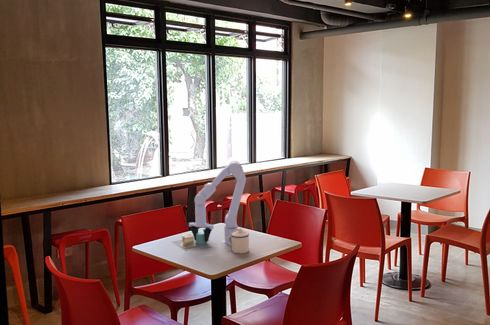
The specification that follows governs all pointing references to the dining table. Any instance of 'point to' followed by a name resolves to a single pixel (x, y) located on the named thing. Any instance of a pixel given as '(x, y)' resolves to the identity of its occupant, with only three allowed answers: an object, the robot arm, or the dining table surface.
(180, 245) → the gray board
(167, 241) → the dining table surface
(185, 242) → the birch block
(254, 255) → the dining table surface
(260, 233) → the dining table surface
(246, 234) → the teacup with lid
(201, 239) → the teal block
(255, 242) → the dining table surface
